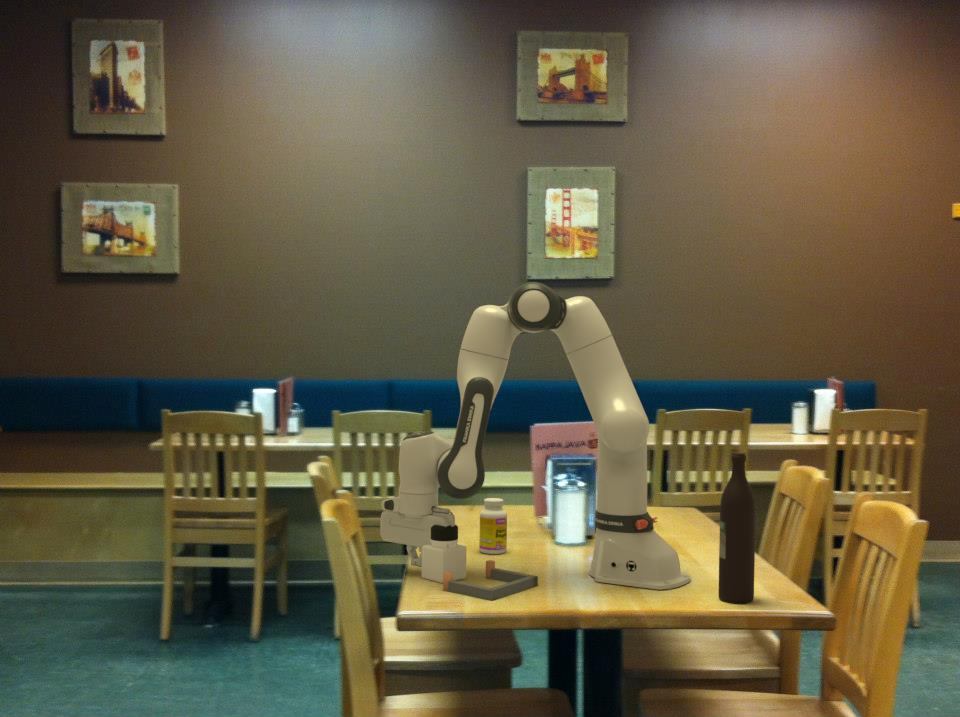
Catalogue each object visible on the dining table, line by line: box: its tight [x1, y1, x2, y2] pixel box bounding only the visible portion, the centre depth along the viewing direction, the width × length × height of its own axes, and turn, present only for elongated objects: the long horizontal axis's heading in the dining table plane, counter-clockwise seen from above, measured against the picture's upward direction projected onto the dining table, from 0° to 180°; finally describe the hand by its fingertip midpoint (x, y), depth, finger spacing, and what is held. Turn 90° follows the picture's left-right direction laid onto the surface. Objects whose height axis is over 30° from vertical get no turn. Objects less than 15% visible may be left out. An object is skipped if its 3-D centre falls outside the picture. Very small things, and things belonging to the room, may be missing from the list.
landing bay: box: [442, 560, 539, 601], centre depth 229 cm, size 13×16×4 cm
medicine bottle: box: [421, 524, 467, 584], centre depth 237 cm, size 7×7×12 cm
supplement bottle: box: [478, 497, 508, 555], centre depth 263 cm, size 7×7×13 cm
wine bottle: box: [718, 452, 757, 604], centre depth 220 cm, size 7×7×30 cm
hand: (418, 565), depth 242 cm, fingers closed
